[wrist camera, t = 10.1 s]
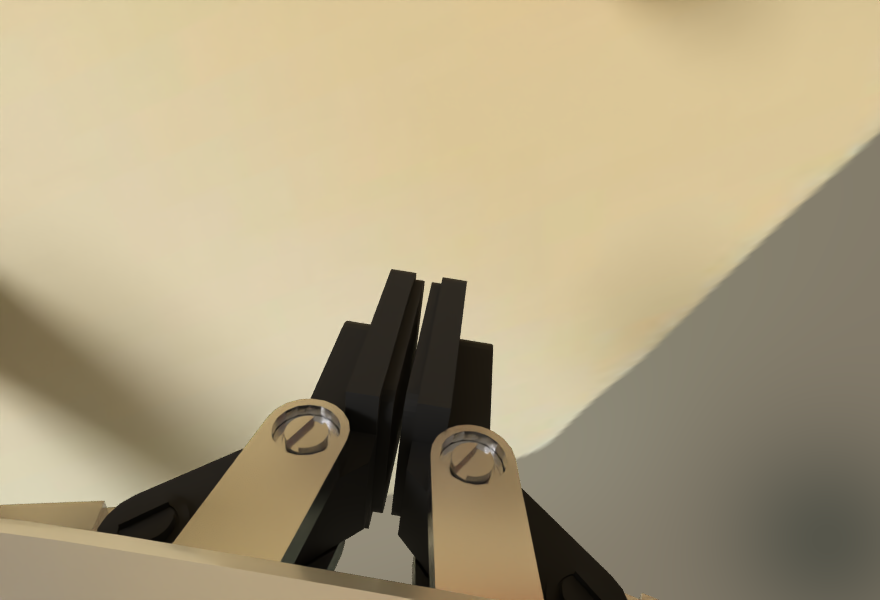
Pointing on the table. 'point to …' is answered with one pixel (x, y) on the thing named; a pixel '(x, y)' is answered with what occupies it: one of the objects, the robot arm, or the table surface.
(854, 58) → the table surface
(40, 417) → the table surface
